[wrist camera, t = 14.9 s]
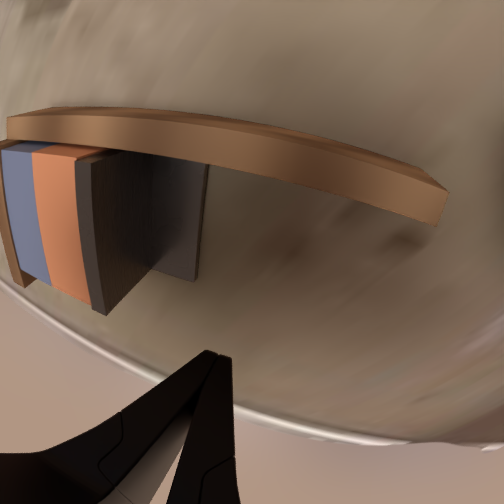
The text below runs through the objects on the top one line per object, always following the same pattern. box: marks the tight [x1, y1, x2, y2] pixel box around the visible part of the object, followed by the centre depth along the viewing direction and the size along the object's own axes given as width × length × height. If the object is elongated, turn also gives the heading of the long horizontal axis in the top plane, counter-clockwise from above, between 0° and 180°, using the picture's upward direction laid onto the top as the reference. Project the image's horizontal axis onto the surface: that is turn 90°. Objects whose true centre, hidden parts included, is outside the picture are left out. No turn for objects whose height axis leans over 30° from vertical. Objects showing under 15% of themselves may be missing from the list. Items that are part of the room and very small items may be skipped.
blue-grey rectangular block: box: [1, 140, 59, 286], centre depth 15 cm, size 4×8×6 cm, turn 170°
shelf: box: [0, 107, 450, 288], centre depth 14 cm, size 23×11×6 cm, turn 80°
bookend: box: [74, 148, 209, 316], centre depth 14 cm, size 4×8×6 cm, turn 170°
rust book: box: [32, 143, 111, 305], centre depth 15 cm, size 4×8×6 cm, turn 170°
